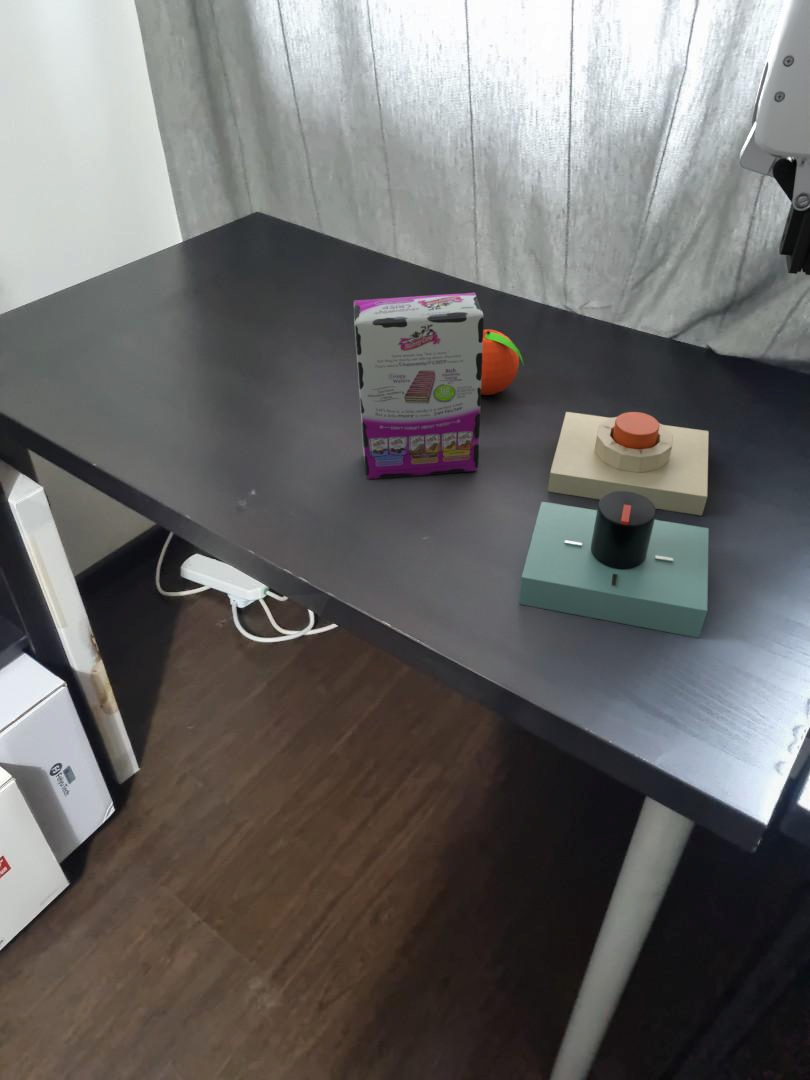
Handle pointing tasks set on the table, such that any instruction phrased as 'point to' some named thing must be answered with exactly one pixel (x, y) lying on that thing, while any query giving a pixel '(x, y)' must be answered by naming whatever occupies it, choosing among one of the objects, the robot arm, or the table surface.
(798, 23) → the robot arm
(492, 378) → the clementine
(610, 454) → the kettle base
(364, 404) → the candy bar box
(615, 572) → the dial panel
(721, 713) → the table surface
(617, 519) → the knob
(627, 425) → the power button
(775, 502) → the table surface
